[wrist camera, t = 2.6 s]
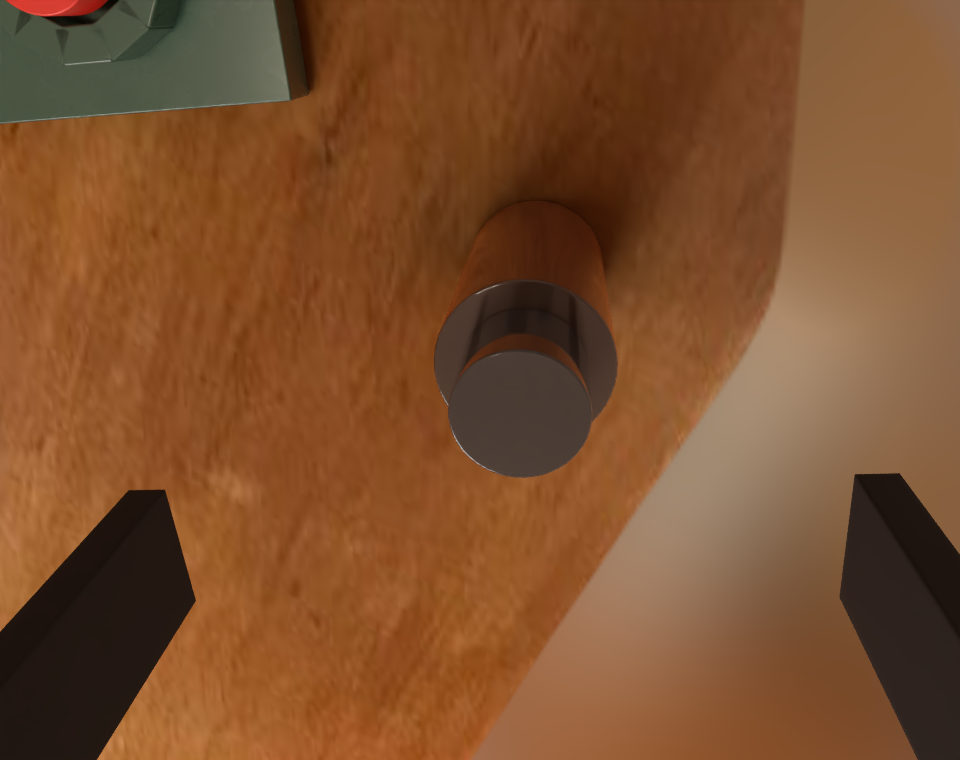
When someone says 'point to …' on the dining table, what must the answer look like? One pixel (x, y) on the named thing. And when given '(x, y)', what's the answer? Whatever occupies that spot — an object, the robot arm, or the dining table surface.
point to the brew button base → (148, 58)
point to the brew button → (58, 7)
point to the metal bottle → (527, 341)
